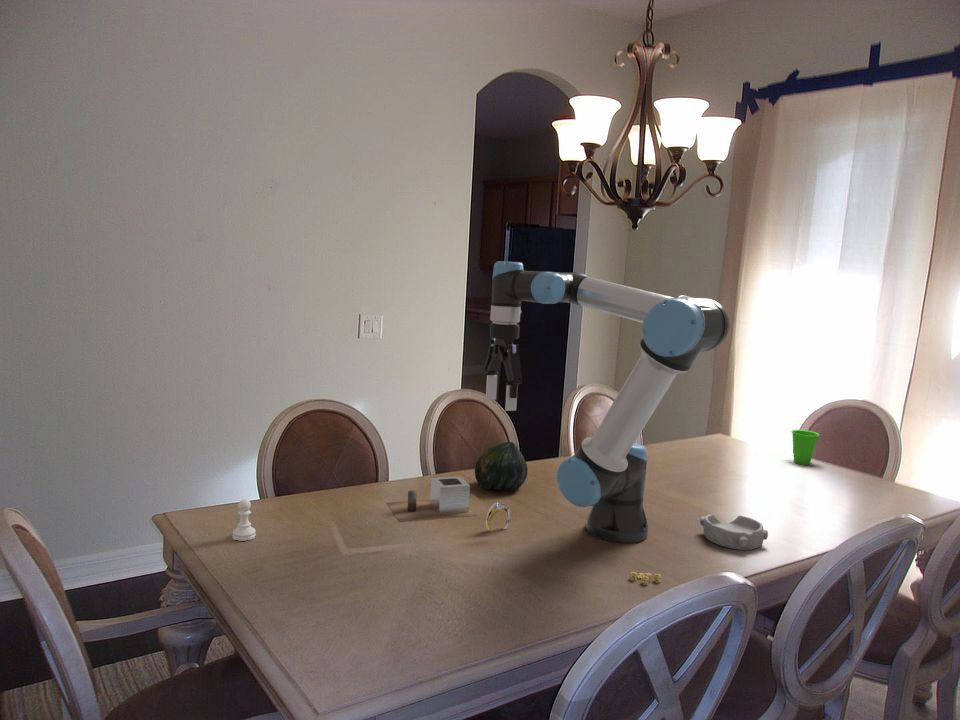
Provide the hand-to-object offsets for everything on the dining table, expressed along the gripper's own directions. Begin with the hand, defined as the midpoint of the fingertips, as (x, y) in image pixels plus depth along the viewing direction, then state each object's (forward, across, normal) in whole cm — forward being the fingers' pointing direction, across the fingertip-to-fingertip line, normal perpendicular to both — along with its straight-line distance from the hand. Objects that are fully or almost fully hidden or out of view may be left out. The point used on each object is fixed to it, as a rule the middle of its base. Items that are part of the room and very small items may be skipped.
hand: (500, 404), depth 187 cm
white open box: (+28, +2, +12) cm, 30 cm away
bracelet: (+29, -15, +5) cm, 33 cm away
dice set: (+30, -46, -16) cm, 57 cm away
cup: (+29, +23, -126) cm, 131 cm away
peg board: (+29, +2, +17) cm, 33 cm away
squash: (+29, +18, -9) cm, 35 cm away
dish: (+29, -32, -51) cm, 67 cm away
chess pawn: (+29, -4, +63) cm, 69 cm away
